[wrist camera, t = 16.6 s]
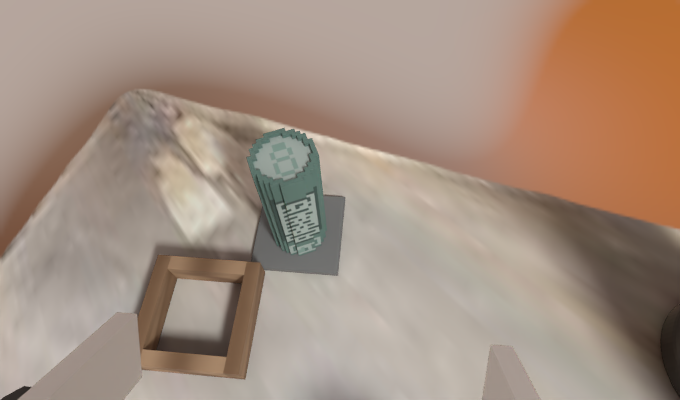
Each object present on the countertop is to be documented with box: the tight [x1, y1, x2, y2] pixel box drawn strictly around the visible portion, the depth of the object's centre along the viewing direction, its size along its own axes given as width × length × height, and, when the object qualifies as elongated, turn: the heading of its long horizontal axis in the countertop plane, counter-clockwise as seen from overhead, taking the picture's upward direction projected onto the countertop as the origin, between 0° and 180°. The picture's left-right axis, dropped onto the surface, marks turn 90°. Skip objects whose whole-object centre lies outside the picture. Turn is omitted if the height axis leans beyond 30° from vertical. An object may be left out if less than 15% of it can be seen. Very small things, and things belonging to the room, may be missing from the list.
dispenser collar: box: [137, 255, 265, 379], centre depth 45 cm, size 11×11×3 cm
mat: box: [251, 196, 345, 276], centre depth 51 cm, size 10×10×1 cm
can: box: [246, 128, 327, 256], centre depth 44 cm, size 6×6×15 cm
